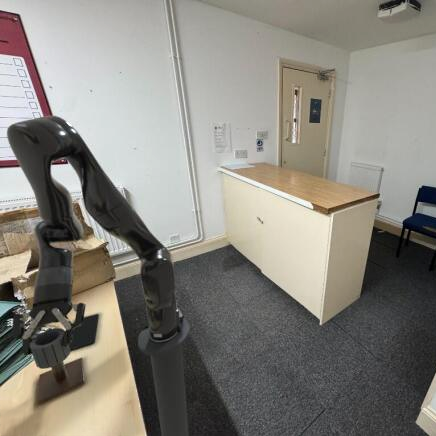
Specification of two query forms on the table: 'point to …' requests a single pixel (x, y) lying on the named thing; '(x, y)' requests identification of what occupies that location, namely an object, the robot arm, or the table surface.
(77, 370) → the peg stand
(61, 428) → the table surface
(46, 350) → the grey ribbed hollow cylinder
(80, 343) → the smartphone
